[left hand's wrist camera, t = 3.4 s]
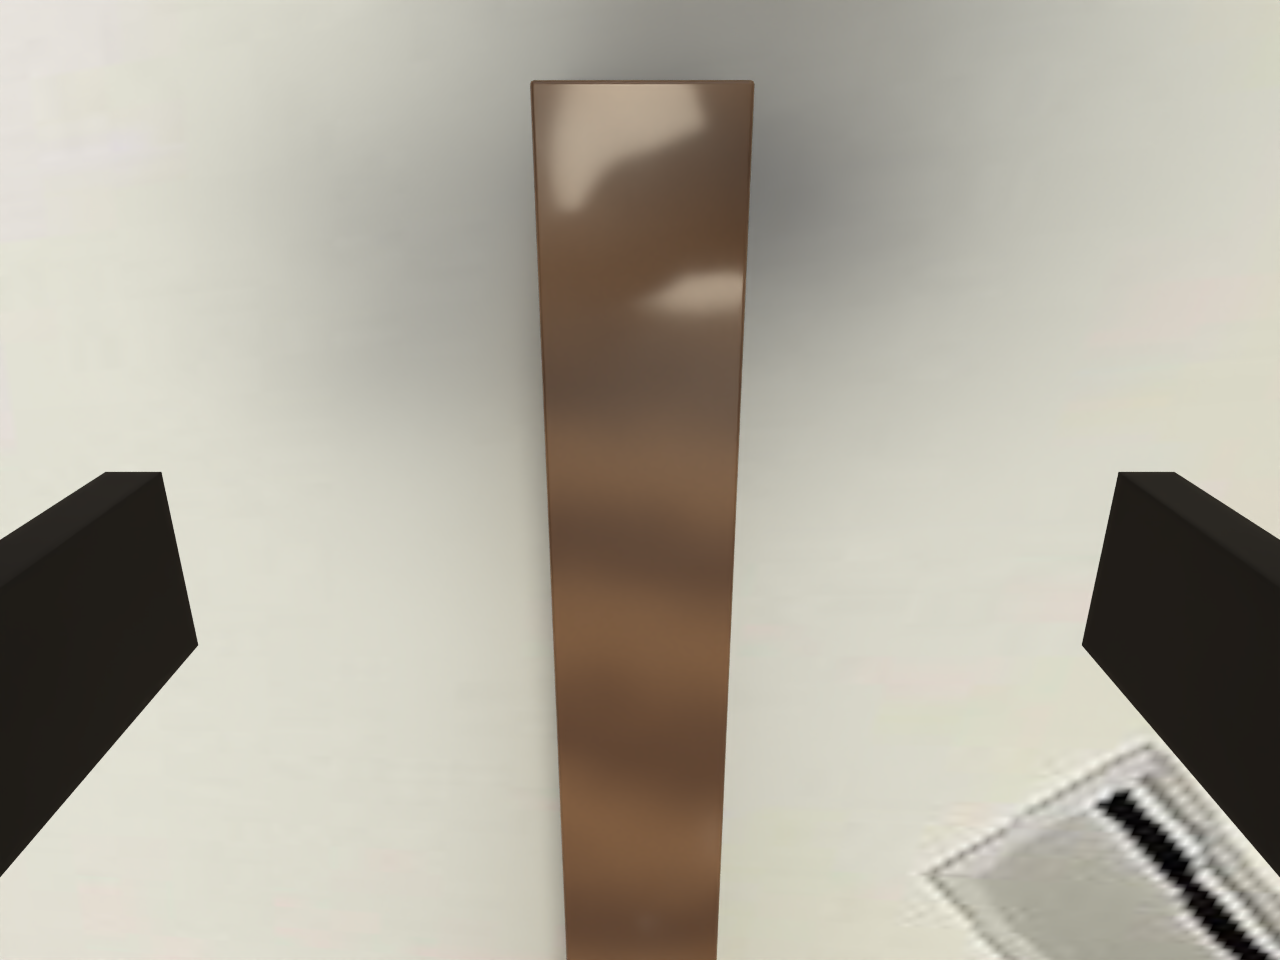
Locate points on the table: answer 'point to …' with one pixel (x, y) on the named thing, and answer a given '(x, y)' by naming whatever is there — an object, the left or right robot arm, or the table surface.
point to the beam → (642, 490)
